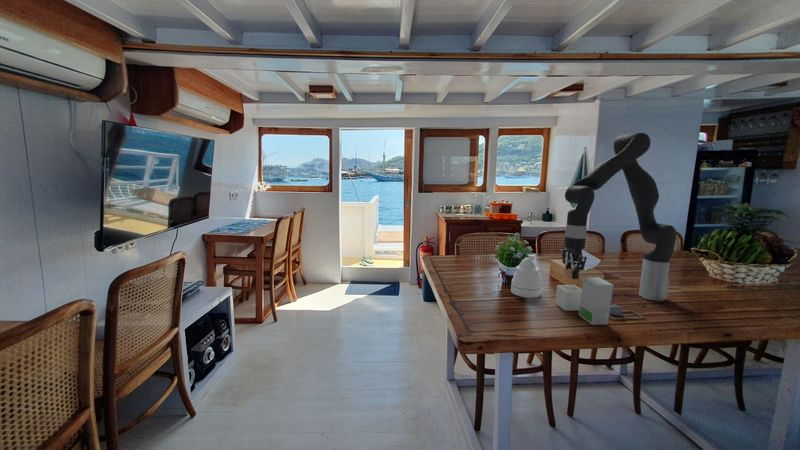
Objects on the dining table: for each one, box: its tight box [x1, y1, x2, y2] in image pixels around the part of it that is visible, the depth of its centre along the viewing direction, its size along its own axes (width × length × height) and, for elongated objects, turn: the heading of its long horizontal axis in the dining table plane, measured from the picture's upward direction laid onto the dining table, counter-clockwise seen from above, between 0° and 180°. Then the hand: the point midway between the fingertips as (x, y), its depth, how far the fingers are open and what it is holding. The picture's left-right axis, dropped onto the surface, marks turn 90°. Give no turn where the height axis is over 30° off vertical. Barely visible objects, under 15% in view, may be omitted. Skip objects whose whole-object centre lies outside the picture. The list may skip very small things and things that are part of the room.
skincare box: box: [578, 276, 614, 326], centre depth 121 cm, size 8×7×16 cm
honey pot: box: [510, 254, 542, 299], centre depth 149 cm, size 13×13×18 cm
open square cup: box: [554, 284, 582, 312], centre depth 134 cm, size 8×8×8 cm
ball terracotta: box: [565, 267, 573, 280], centre depth 132 cm, size 4×4×4 cm
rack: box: [609, 309, 646, 321], centre depth 126 cm, size 13×7×1 cm, turn 93°
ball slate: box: [609, 304, 623, 317], centre depth 126 cm, size 4×4×4 cm
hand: (571, 276), depth 132 cm, fingers closed on ball terracotta, 4 cm apart
